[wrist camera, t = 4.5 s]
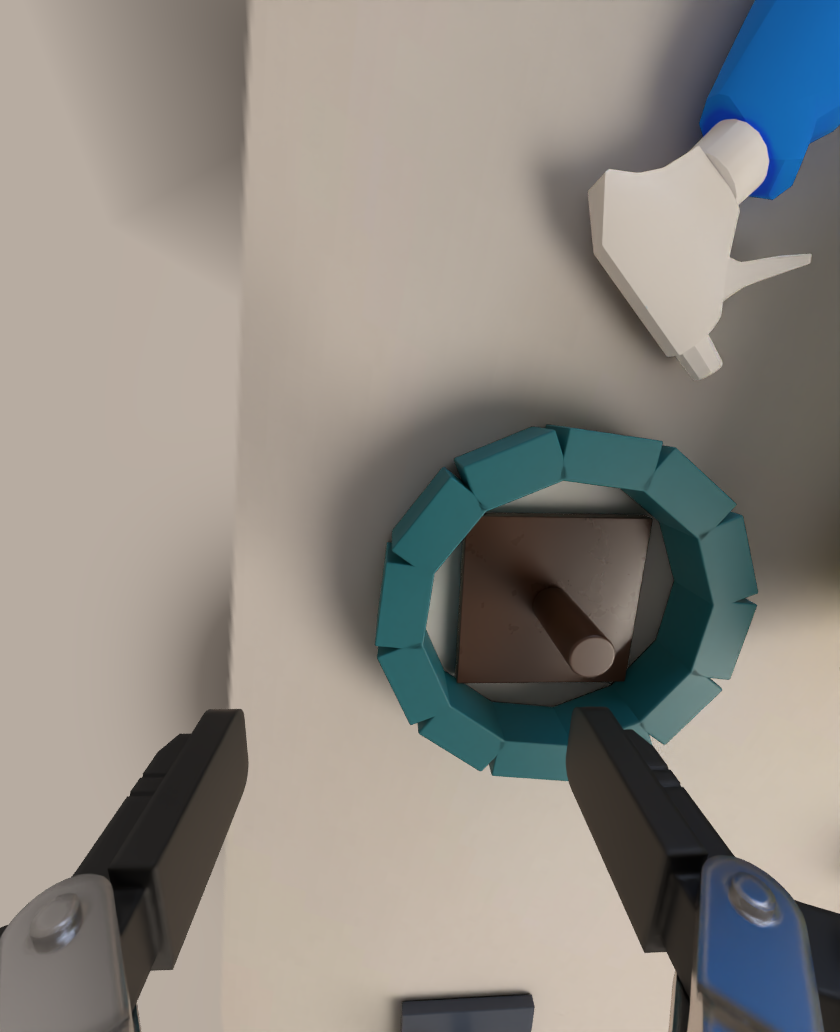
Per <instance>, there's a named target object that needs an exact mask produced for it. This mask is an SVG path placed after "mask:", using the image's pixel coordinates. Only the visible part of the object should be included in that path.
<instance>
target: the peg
mask: <svg viewBox="0 0 840 1032" xmlns="http://www.w3.org/2000/svg"><path fill="white" fill-rule="evenodd" d="M533 1015H534V1002H533V998H532V995H515V996H497V997H479V998H462V999H444V1000H426V1001H408V1002H402V1017H401V1032H531V1029H532V1022H533Z"/></svg>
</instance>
